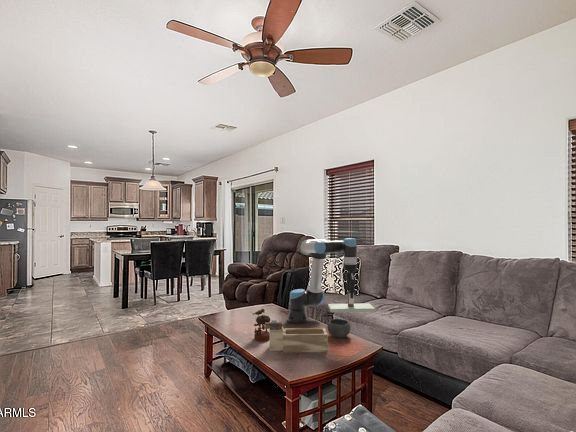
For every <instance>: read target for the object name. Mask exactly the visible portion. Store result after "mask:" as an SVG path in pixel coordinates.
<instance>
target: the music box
mask: <svg viewBox="0 0 576 432" xmlns="http://www.w3.org/2000/svg"><path fill="white" fill-rule="evenodd" d="M265 311H266V310H265V308H261V309H260V310H256V311H255V312H253V313H252V315H253V316H254V315H255V316H256V317H255V323H254V324H253V327H255V329H254V331H253V332H254V334H253V335H254V341H255V342H258V343H259V342H260V343H265V342H270V331H268V329H265V322H271V317H270V316H269V315H266V314H265Z"/></svg>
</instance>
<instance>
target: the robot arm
mask: <svg viewBox="0 0 576 432" xmlns="http://www.w3.org/2000/svg"><path fill="white" fill-rule="evenodd" d="M357 245H358V244H357V238H354V237H352V238H351V237H349V238H348V237H346V238H343V240H342V239H341V240H327V239H324V238H323V239H321V238H320V239H318V238H316V239H315V238H313V239H304V240H301V241H300V243H299V245H298V250H299V252H300V253H301V254H302V255H305V256H310V257H311V258H312V261H311V271H310V279H309V281H310V282H309V286H308V287H307V288H306V289H307V290H305V288H304V289H303V288H298V289H293V290H291V291H290V292H289V311H288V315H287V321H288V323H292V324H305V323H306V322H308V315H307V313H306V307H313V306H320V305H323V303H324V302H325V292H324V290H323V288H322V287H321V285H322V278H323V270H324V261H325V260H326V258H327V256H328V255H330V254H340V253H341V254H342V253H343V259H342V260H343V263H344V264H343V270H344V271H346V274H345V277H346V290H347V294H348V293H349V304H355V293H356V292H355V291H356V290H355V289H356V288H355V286H356V282H355V280H356V276H355V273H354V272H355V271H357V269H358V265H357V263H358V261H357V255H358V254H357V249H358V248H357V247H358V246H357ZM348 291H349V292H348Z"/></svg>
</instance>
